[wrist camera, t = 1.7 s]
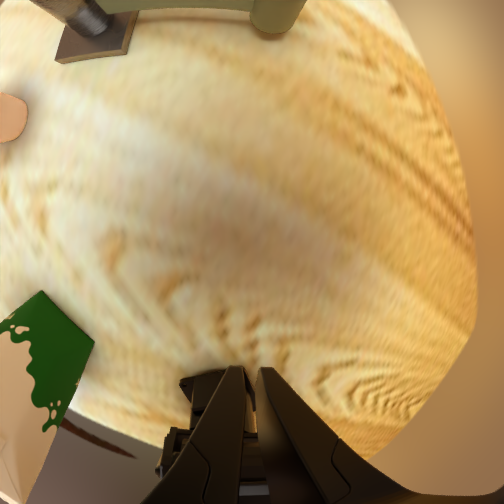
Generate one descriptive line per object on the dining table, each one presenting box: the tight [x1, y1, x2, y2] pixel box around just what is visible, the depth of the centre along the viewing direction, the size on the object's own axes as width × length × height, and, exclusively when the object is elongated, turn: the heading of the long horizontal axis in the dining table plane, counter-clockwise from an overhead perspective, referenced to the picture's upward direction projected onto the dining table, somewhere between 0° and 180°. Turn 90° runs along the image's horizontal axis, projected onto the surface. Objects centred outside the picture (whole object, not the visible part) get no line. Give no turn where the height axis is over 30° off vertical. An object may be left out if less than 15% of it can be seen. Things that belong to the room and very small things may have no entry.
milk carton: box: [0, 290, 95, 504], centre depth 12 cm, size 9×9×20 cm
